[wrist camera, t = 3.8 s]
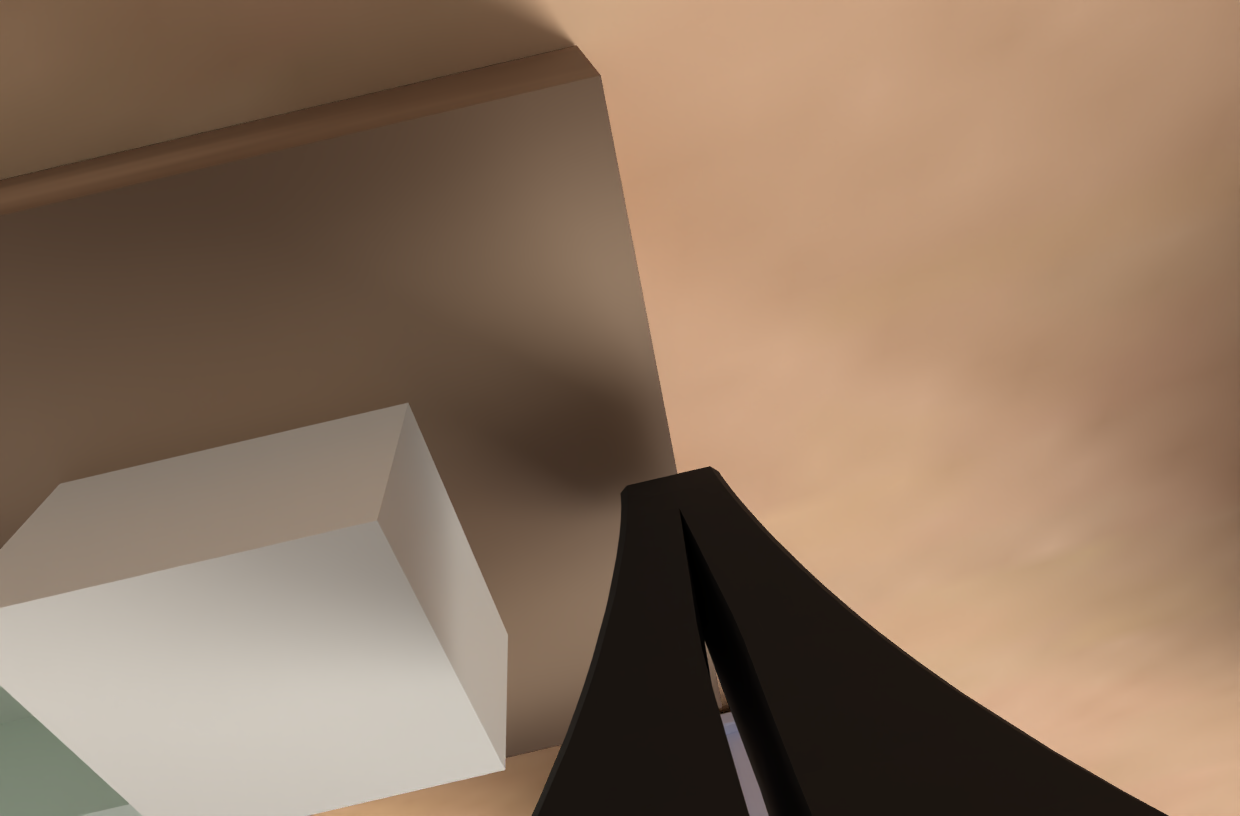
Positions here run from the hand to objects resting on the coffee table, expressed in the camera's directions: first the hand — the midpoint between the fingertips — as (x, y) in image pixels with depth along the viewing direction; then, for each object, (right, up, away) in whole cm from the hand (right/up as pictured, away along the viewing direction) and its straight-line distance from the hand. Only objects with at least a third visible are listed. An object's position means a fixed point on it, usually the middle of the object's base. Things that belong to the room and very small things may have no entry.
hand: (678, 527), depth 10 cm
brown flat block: (-6, +1, +4) cm, 7 cm away
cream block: (-6, -1, +1) cm, 6 cm away
